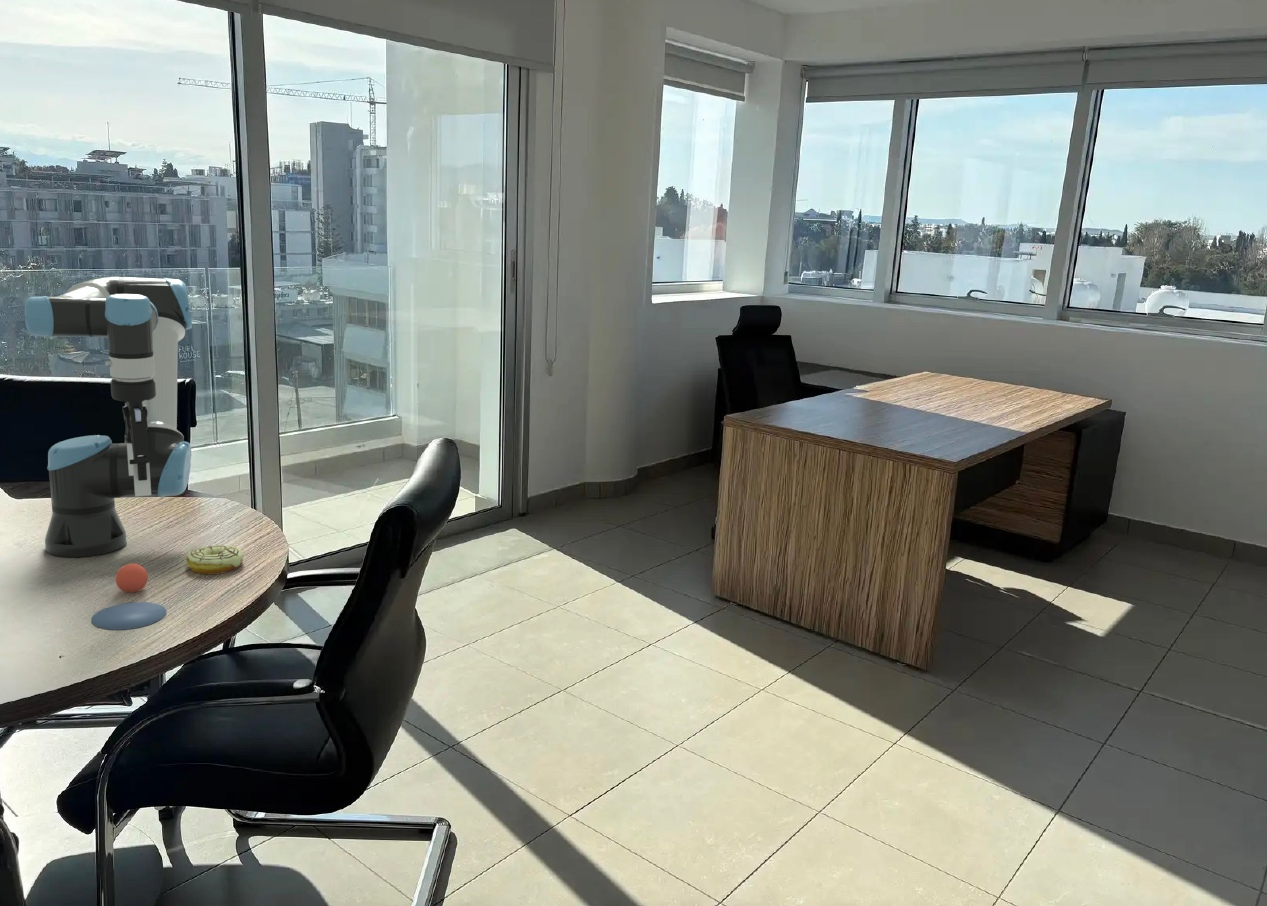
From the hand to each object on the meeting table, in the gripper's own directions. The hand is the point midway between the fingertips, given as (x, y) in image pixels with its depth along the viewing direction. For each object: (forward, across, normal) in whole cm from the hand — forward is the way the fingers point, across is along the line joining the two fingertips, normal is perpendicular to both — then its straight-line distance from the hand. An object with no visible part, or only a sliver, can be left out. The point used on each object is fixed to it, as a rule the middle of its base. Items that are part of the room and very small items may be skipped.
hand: (139, 484), depth 189 cm
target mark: (+18, +20, -4) cm, 27 cm away
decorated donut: (+20, 0, +13) cm, 24 cm away
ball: (+16, +8, -3) cm, 18 cm away
